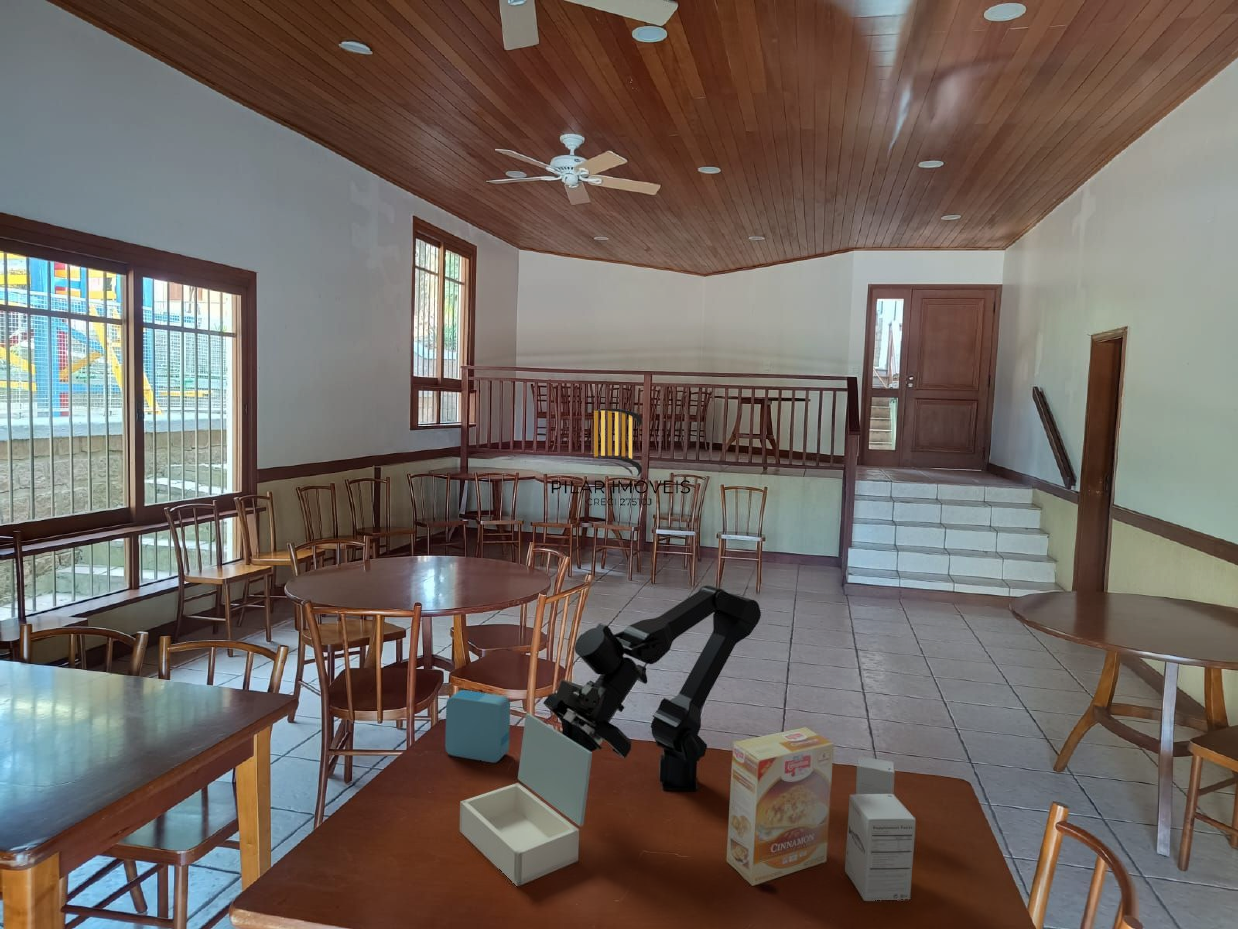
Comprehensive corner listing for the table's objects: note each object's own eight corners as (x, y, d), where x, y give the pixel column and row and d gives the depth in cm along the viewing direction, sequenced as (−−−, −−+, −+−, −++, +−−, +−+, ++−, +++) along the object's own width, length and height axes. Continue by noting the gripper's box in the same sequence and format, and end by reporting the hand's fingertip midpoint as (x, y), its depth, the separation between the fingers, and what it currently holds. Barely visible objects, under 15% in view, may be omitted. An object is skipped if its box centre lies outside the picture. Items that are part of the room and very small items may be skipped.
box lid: (517, 779, 131) (520, 778, 131) (580, 826, 117) (583, 826, 117) (525, 713, 131) (528, 713, 131) (589, 753, 117) (592, 752, 117)
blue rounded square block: (509, 754, 152) (510, 696, 151) (499, 764, 148) (501, 704, 147) (455, 745, 156) (456, 688, 155) (444, 754, 151) (445, 696, 150)
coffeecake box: (752, 887, 112) (759, 760, 111) (724, 861, 119) (730, 740, 117) (829, 863, 119) (836, 742, 118) (798, 839, 125) (804, 725, 124)
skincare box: (890, 829, 130) (895, 761, 129) (891, 842, 126) (895, 772, 125) (853, 822, 132) (857, 755, 131) (852, 834, 127) (857, 766, 127)
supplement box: (843, 871, 117) (848, 792, 116) (889, 871, 118) (894, 792, 117) (862, 902, 110) (868, 818, 109) (911, 901, 110) (917, 818, 109)
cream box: (517, 810, 131) (518, 782, 131) (577, 860, 117) (579, 829, 117) (459, 831, 124) (460, 801, 124) (516, 887, 110) (517, 854, 110)
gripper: (554, 647, 134) (497, 722, 128) (620, 679, 119) (560, 765, 113) (588, 682, 139) (535, 756, 133) (655, 716, 125) (599, 800, 119)
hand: (555, 767), depth 124 cm, fingers closed, pressing on box lid
